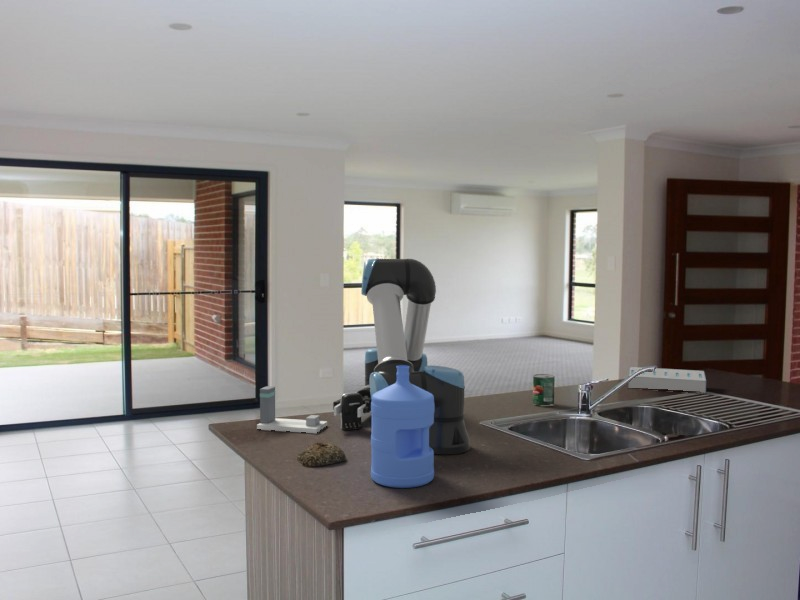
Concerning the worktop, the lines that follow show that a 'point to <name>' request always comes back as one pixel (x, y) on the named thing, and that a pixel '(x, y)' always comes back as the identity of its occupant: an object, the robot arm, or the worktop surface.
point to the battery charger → (350, 411)
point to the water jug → (402, 434)
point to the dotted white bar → (669, 379)
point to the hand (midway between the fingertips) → (346, 412)
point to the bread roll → (321, 455)
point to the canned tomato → (543, 389)
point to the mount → (278, 424)
